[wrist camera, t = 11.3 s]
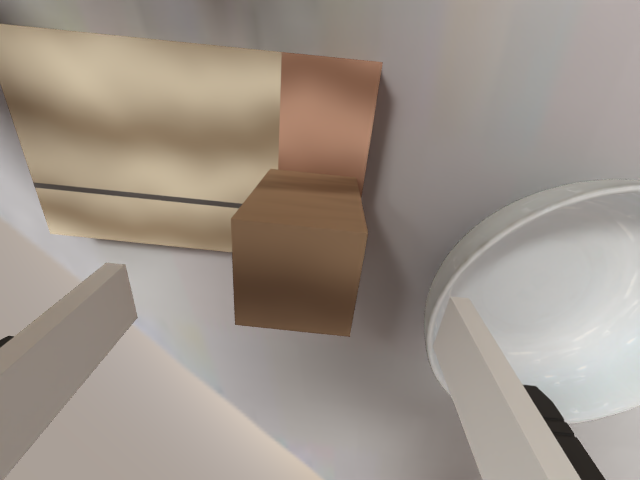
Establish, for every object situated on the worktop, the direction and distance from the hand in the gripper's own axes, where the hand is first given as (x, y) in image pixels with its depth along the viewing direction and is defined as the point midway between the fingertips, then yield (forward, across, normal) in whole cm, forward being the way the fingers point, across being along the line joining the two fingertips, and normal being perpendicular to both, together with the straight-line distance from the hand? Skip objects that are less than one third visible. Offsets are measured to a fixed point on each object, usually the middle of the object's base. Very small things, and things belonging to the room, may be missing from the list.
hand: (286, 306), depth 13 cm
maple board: (+14, -8, +3) cm, 16 cm away
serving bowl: (+14, +20, -5) cm, 25 cm away
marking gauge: (+13, 0, -1) cm, 13 cm away
